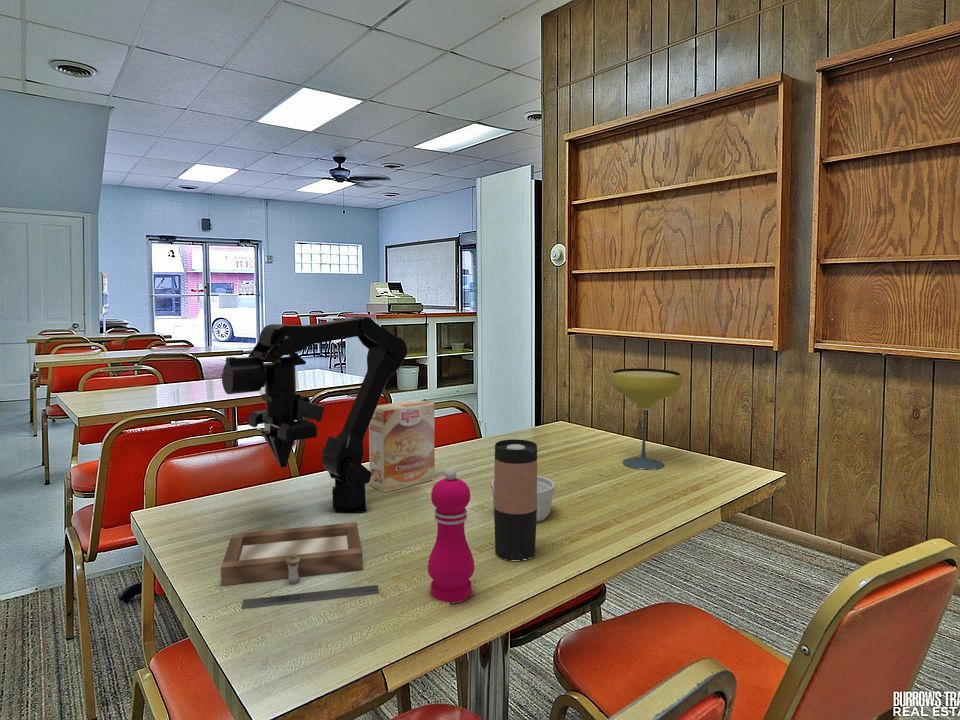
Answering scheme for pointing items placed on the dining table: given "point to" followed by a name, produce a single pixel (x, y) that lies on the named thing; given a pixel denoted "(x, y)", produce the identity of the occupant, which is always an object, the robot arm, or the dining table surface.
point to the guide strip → (309, 596)
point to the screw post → (293, 573)
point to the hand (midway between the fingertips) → (283, 466)
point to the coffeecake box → (402, 445)
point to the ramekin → (540, 496)
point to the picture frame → (291, 553)
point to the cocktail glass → (645, 398)
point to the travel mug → (515, 498)
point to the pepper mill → (450, 541)
